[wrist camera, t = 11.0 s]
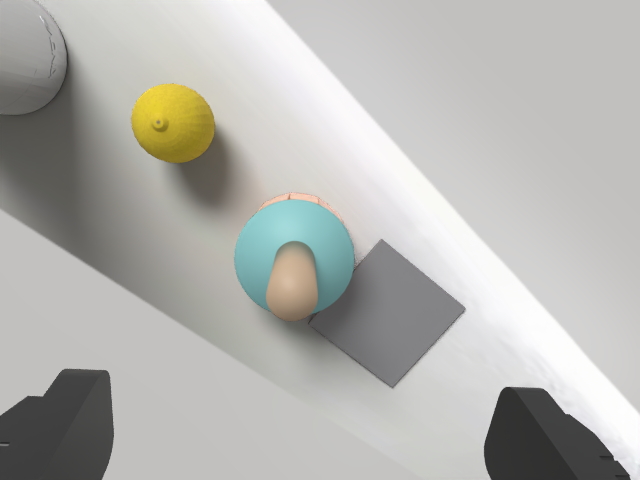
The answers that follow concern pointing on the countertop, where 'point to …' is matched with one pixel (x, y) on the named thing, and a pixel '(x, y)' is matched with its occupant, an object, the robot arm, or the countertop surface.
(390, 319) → the mat
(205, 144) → the lemon
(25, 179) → the countertop surface
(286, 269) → the lid
